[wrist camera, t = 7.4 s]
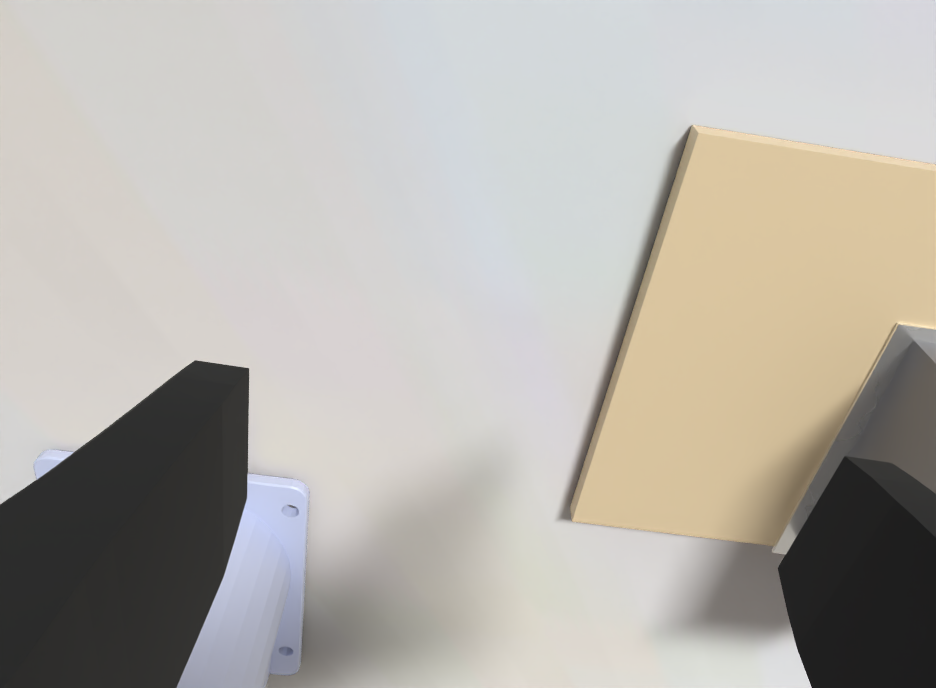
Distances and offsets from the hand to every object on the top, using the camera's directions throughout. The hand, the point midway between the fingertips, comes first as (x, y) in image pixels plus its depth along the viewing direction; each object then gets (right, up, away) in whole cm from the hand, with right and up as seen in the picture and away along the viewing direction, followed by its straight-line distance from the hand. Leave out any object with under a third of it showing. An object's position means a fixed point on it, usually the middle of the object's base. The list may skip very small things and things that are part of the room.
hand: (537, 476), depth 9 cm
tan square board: (+10, +1, +11) cm, 15 cm away
